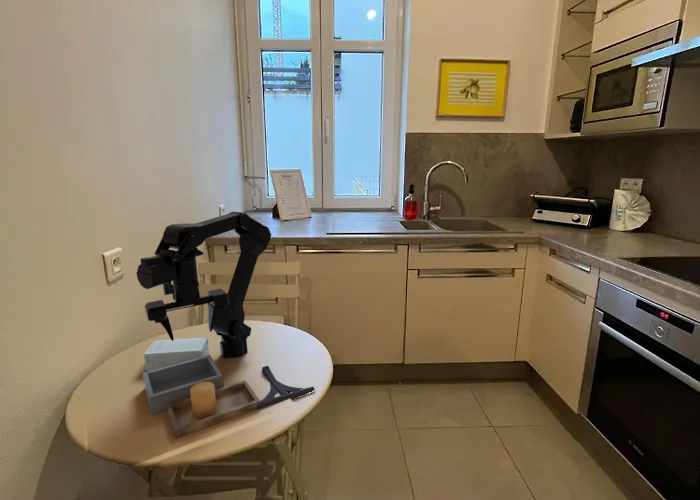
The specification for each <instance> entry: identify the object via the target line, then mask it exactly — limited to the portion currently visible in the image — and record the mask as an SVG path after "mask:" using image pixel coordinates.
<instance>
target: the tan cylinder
mask: <svg viewBox="0 0 700 500" xmlns="http://www.w3.org/2000/svg"><path fill="white" fill-rule="evenodd" d="M190 394H191V403H192V411H193V417H194V418H196V419H199V420H201V419H204V418H207V417H210V416H213V415H214V414H215V413H216V412H217V406H216V397H215V387H214V384H213V383H211V382H201V383H198V384H196V385H194V386H193V387H192V388H191V389H190Z"/></svg>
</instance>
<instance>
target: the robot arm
mask: <svg viewBox="0 0 700 500" xmlns="http://www.w3.org/2000/svg"><path fill="white" fill-rule="evenodd" d="M230 231H234V232H235V233H236V234H237V235H238V236H239V239H238V244H239V249H240V253H239V257H238V260H237V262H236V265H235V269H234V272H233V275H232V279H231V281H230V284H229V287H228V289H227V290H228V291H227V292H226V291H225V290H224V289H223V288H217V289H213V290H212V289H211V290H208V291H207V295H204V296H201V295H200V293H201V292H200V283H199V276H198V265H197V257H200V256H203V255H204V251H201V250H200V249H198V247H200V246H201V245H203V243H204V242H205V241H206V240H208V239H210V238H213V237H215V236H218V235H221V234H222V235H223V234H225V233H227V232H230ZM271 237H272V233H271V231H270V228H269V227H268V226H267V225H263V223H260V222H259V221H257V220H255V219H254V218H252V217H251V216H249V214H247V213H246V212H243V211H230V212H229V213H226V214H223V215H220V216H217V217H216V216H215V217H213V218H209V219H207V220H203V221H200V222H195V223H194V222H193V223H176V224H175V223H173V224H172V223H171V224H169V225H167V226H166V227H165V229H164V231H163V235H162V237H161V239H160V242H159V243H158V246H157V248H156V250H155V251H154V255H153V256H148V257H143V258H140V264H139V265H138V266H137V270H136V277H137V281H138V283H139V285H140V286H141V287H142V288H143V289H146V290H150V289H153V288H156V287H159V286H162V288H163V294H164V296H170V295H172V300H174V301H173V302H168V303H164V301H163V299H160V300H153V301H150V302H149V301H147V302H146V303H145V305H144V312H145V316H146V318H147V320H148V322H149V321H150V322H153V321H154V324H155V323H156V324H159V323H160V324H161V326H162V327H163V328H164V330H165V332H166V333H167V335H168V336H169V338H170V339H169V340H172V341H174V340H173V339H174V333H173V331H172V326H171V322H170V318H169V317H168V314H167V312H172V311H177V310H183V309H188V308H192V307H197V306H202V305H207V309H208V330H209V333H210V332H211V333H212V332H213V331H214V332H215V334H216V335H217V336H220V338H221V340H220V342H219V347H220V355H221V357H222V358H223V359H236V358H241V357H242V356H244V355H245V354H247V353H248V341H247V339H248V337H250V336H251V334H252V327H250V326H249V325H247V324H246V323H245V319H246V318H245V316H246V315H245V310H244V302H245V299H246V295H247V293H248V289H249V286H250V284H251V280H252V276H253V274H254V271H255V267H256V265H257V261H258V258H259V257H260V256H261V254H262V253H264V252H265V251H266V249H267V248H268V246H269V243H270V241H271Z"/></svg>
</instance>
